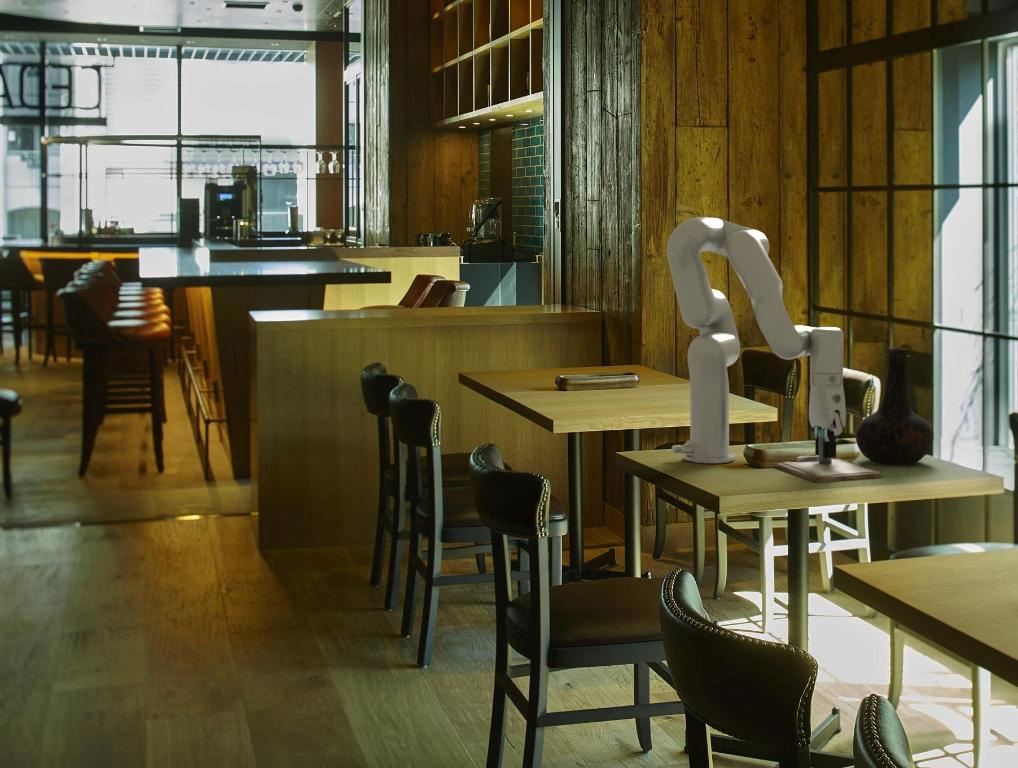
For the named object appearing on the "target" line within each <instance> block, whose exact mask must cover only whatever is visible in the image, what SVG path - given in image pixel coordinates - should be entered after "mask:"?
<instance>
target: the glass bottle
mask: <svg viewBox="0 0 1018 768" xmlns="http://www.w3.org/2000/svg"><path fill="white" fill-rule="evenodd" d="M885 357H886V358H888V360H887V373H886V379H885V387H884V392H883V397H882V400H881V403H880V406H879V407H878V409H877V410H876V411H875V412H872V413H871V414H869V415H867V416H866V417H864V418H863V419H862V420H861V421H860V422H859V424H858V426H857V429H856V432H855V441H856V446H857V447H858V449H859V451H860V452H861V454H862V455H863V456H864V457H865V458H866V459H868V460H869V461H871V462H873V463H877V464H879V465H885V466H886V465H887V466H912V465H914V464H916V463H919V461H921V460H922V459H923V458H924V457H925V456H926V455H927V454H928V453H929V451H930V450H931V447H932V445H933V443H934V432H933V428H932V427H931V424H930V423H929V422H928V421H927V420H926V419H925V418H923V417H922V416H920V415H918V414H916V413H915V412H914V411H913V410H912V408H911V405H910V400H909V399H910V398H909V386H908V359H911V358H912V356H911V355H909V354H908V348H904V347H895V348H891V347H890V348H888V353H887V354H886V355H885Z"/></svg>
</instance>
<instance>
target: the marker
mask: <svg viewBox="0 0 1018 768" xmlns="http://www.w3.org/2000/svg"><path fill="white" fill-rule="evenodd" d="M830 432H831V431H829V433H830ZM818 439H819V464H831V463H832V459H833V458H823V441H825V433H824V429H823V428H822V429H819V430H818Z"/></svg>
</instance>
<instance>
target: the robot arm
mask: <svg viewBox="0 0 1018 768" xmlns="http://www.w3.org/2000/svg"><path fill="white" fill-rule="evenodd" d="M705 252H710V253H714V254H718V255H721V256H724V257H727V259H728V261H729V262H730V264H731V266H732V268H733V270H734V271H735V273H736V275H737V276H738V278H739V280H740V282H741V284H742V286H743V288H744V289H745V292H746V293H747V295H748V297H749V299H750V301H751V306H752V309H753V312H754V317H755V320H756V323H757V325H758V327H759V329H760V331H761V333H762V335H763V336H764V338H765V340H766V342H767V344H768V345H769V347H770V349H771V350H772V351H773V353H774V354H775V355H776V356H777V357H779V358H780V359H783V360H785V361H786V360H789V361H790V360H794V359H797V358H800V357H803V356H804V357H805V356H806V357H807V356H810V361H809V362H810V363H809V368H810V369H809V373H810V374H809V377H810V378H809V386H810V390H809V401H808V420H809V424H810V426H811V428H812V430H813V433H814V434H813V435H814V439H815V440H814V443H815V445H814V446H815V448H814V451H815V453H814V455H817V456H819V439H818V430H819V429H824V433H825V441H823V458H832V459H833V458H837V441H838V440H839V439H838V437H839V435H840V434H842V433H843V428H845V427H846V426H847V425H846V424H847V411H846V410H847V409H846V397H845V396H846V395H845V390H844V331H843V330H842V329H841V328H839V327H836V326H835V327H834V326H821V327H813V326H807V325H795V324H794V323H793V322H792V320H791V318H790V316H789V314H788V312H787V310H786V307H785V304H784V300H783V289H784V284H783V281H782V280H783V279H781V277H780V275H779V273H778V272H777V271H778V270H776V268H775V266H774V263H772V261H771V259H770V256H768V255H769V253H770V242H769V239H768V238H767V236H766V235H765V234H764V233H763V232H761V231H760V230H757V229H754V228H750V227H747V226H742V225H739V224H738V223H733V222H731V221H727V220H725V219H722V218H721V219H720V218H718V217H711V216H709V217H707V216H696V217H691V218H688V219H686V220H683V221H682V222H680V224H678V225H677V226H676V227H675V228H674V230H673V231H672V232H671V234H670V236H669V238H668V241H667V245H666V258H667V262H668V268H669V271H670V274H671V278H672V282H673V286H674V290H675V294H676V298H677V303H678V306H679V310H680V313H681V317H682V320H683V322H684V323H685V324H686V325H687V326H688V327H690V328H693V329H698V331H699V335H698V336H697V337H695V338H694V339H693V340H692V341H691V343H690V345H689V346H688V350H687V366H688V371H689V374H688V375H689V389H690V392H689V393H690V394H689V396H690V407H689V409H690V412H689V413H690V414H689V415H690V417H689V418H690V419H689V420H690V423H689V425H690V426H689V427H690V428H689V429H690V431H689V432H690V436H689V437H690V439H689V440H686V443H683V445H682V444H677V445H672V446H671V452H672V454H680V453H681V454H683V459H684V460H685V461H687V462H690V463H691V462H692V463H698V464H724V463H730V462H733V461H735V460H736V454H735V453H734V452H733V453H732V452H730V381H729V375H728V367H729V366H732V365H733V364H734V363H736V361H737V360H738V358H739V357H740V353H741V342H740V339H739V334H738V330H737V326H736V323H735V319H734V315H733V312H732V308H731V305H730V303H729V301H728V298H727V297H726V296H725V295H724V294H723V293H722V292H721V291H720V290H717V289H714V288H712V287H711V284H710V281H709V280H710V279H709V278H708V277H709V276H708V271H707V269H706V267H705V265H704V262H703V260H702V257H701V256H702V254H701V253H705ZM829 431H831V432H830V433H829Z"/></svg>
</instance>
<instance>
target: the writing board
mask: <svg viewBox="0 0 1018 768" xmlns="http://www.w3.org/2000/svg"><path fill="white" fill-rule="evenodd" d="M796 458H797V462H790V461H782V462H783V463H778V464H777V467H778V468H777V469H779V468H780V469H779V470H781V469H782V470H781V471H784V470H785V471H784V472H787V473H789V472H790V474H793V475H795V476H797V475H798V476H797V477H800V478H802V477H803V479H806V480H807V481H810V482H813V483H827V482H838V481H839V480H841V481H851V479H854V480H864V478H867V479H878V478H877V477H881V478H883V472H880V471H877V470H874V469H871V468H868V467H866V466H862V465H859V464H856V463H854V462H849V461H847V460H844V459H841V458H838V459H833V458H832V463H831V464H819V456H817V455H816V456H809V455H799V457H796Z"/></svg>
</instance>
